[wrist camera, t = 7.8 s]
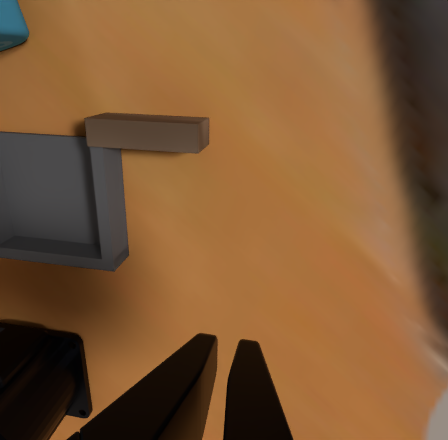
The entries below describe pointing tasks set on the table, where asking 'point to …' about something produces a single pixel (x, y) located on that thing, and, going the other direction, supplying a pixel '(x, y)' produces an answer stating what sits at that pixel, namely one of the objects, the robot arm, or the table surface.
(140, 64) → the table surface
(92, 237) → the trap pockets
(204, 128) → the lane rails
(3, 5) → the blue rounded slab
